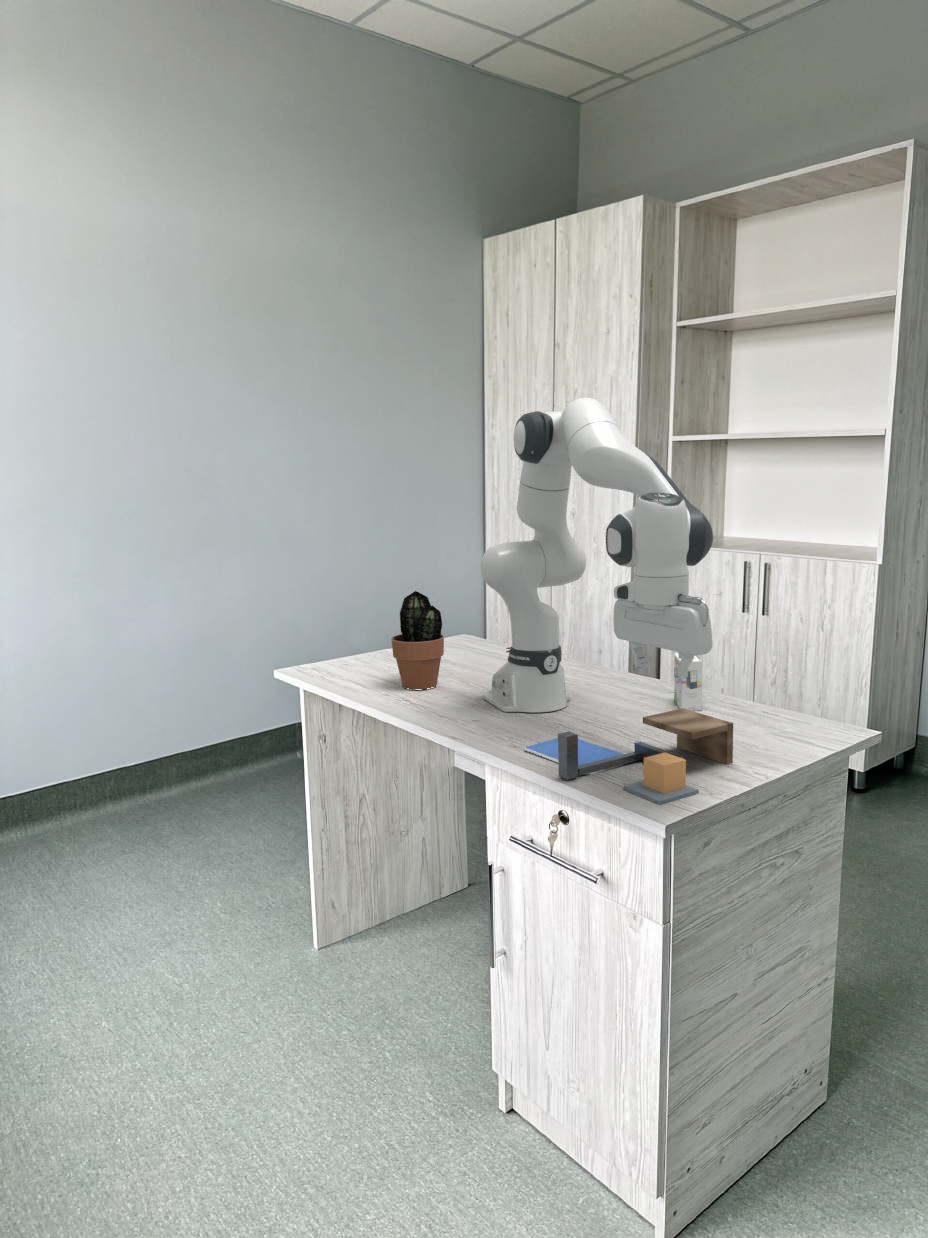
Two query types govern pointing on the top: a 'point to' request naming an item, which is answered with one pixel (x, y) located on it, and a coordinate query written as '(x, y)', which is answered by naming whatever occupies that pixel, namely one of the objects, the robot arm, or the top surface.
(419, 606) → the potted plant
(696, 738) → the walnut shelf
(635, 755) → the grey u-shaped bracket
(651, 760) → the orange block
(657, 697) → the top surface
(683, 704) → the ink box
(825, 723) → the top surface
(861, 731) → the top surface
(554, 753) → the blue flat slab
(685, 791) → the slate mat
